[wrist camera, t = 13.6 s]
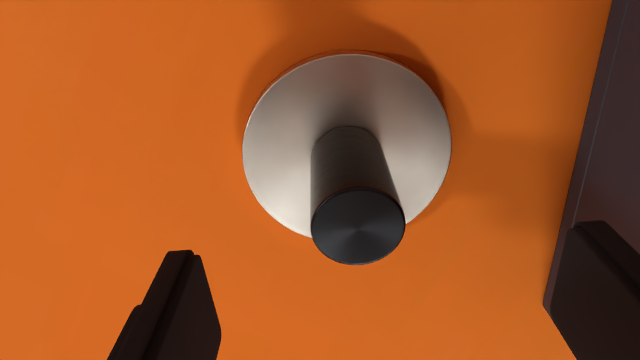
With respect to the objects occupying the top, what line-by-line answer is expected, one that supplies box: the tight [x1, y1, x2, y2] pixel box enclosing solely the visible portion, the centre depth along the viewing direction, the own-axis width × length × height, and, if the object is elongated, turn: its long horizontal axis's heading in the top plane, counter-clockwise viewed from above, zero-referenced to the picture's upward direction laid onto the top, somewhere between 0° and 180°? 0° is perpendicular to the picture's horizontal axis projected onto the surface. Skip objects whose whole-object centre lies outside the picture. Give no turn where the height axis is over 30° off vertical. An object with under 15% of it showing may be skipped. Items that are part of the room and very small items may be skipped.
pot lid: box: [242, 50, 451, 265], centre depth 15 cm, size 8×8×5 cm
